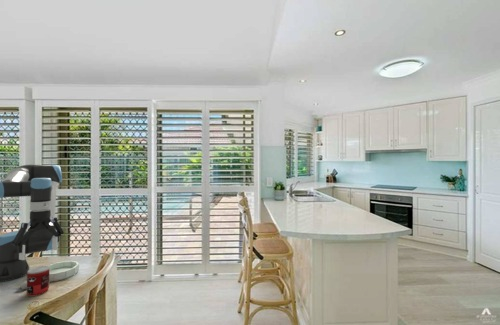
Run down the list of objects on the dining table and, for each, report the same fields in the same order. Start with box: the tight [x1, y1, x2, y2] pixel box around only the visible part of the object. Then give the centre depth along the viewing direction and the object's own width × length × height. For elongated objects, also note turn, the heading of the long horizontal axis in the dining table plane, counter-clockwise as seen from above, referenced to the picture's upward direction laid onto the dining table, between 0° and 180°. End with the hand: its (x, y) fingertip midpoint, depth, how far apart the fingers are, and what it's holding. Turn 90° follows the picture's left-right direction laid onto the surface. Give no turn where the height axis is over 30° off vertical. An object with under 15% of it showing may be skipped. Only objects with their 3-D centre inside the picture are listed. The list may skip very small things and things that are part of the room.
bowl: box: [46, 260, 80, 283], centre depth 131 cm, size 17×17×4 cm
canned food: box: [26, 265, 50, 297], centre depth 113 cm, size 8×8×11 cm
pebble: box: [20, 281, 27, 290], centre depth 116 cm, size 4×4×4 cm
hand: (39, 254), depth 113 cm, fingers open, 13 cm apart
